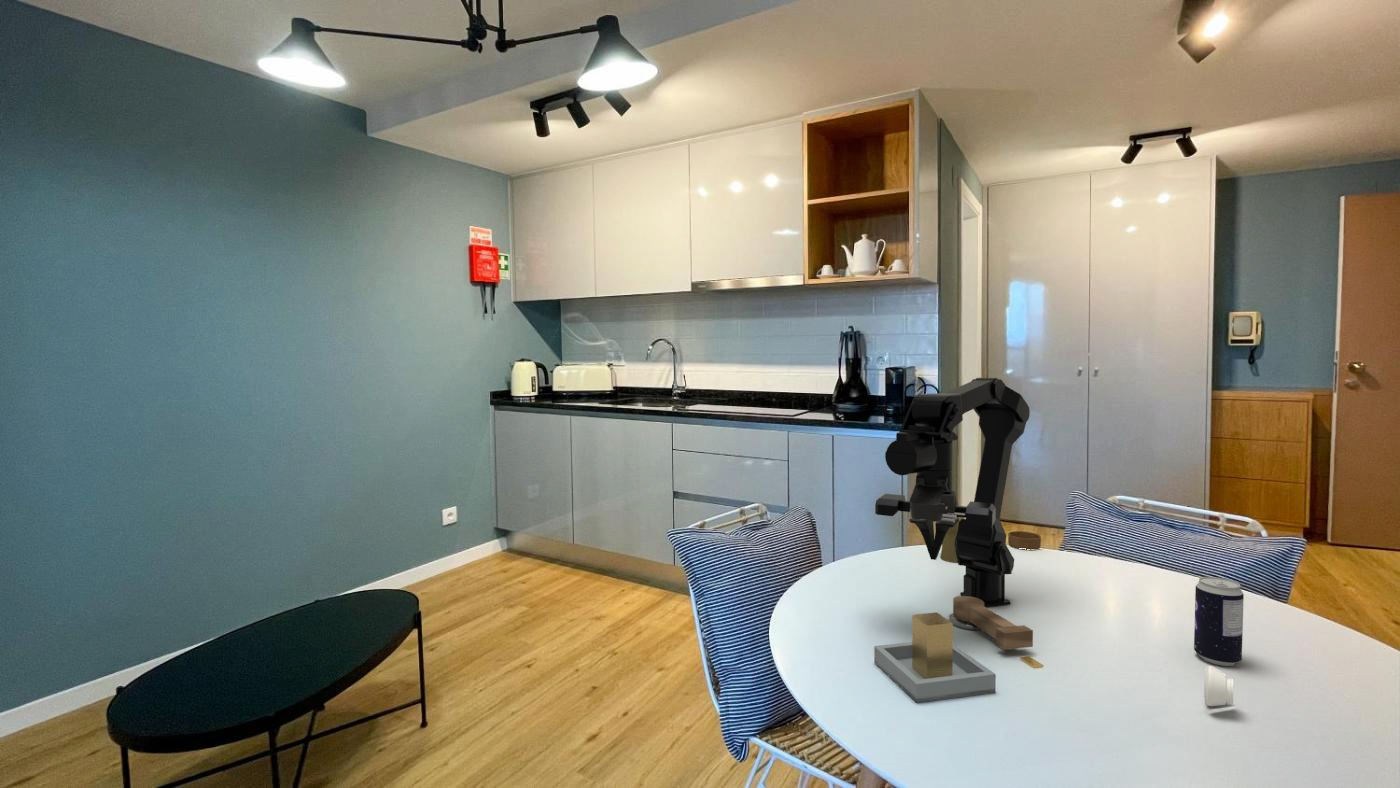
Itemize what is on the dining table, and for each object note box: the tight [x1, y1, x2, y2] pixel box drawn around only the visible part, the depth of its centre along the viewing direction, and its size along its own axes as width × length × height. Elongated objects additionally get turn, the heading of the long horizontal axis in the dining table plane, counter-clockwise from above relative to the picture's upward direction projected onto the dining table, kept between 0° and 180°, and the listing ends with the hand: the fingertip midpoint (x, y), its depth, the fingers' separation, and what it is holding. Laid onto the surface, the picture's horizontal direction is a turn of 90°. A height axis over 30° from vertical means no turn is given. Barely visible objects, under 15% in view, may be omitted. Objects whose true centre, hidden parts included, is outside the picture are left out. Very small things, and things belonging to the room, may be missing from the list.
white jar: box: [1203, 665, 1235, 707], centre depth 85 cm, size 5×3×5 cm, turn 141°
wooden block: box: [911, 612, 954, 679], centre depth 94 cm, size 4×4×8 cm
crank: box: [952, 595, 1034, 650], centre depth 108 cm, size 16×5×3 cm, turn 11°
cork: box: [940, 517, 965, 564], centre depth 146 cm, size 6×6×11 cm
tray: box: [873, 641, 997, 704], centre depth 94 cm, size 12×12×3 cm
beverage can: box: [1193, 576, 1245, 667], centre depth 98 cm, size 6×6×12 cm
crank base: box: [948, 612, 1044, 669], centre depth 106 cm, size 6×20×1 cm, turn 12°
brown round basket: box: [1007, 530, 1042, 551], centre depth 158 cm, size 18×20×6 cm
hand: (933, 559), depth 110 cm, fingers closed
